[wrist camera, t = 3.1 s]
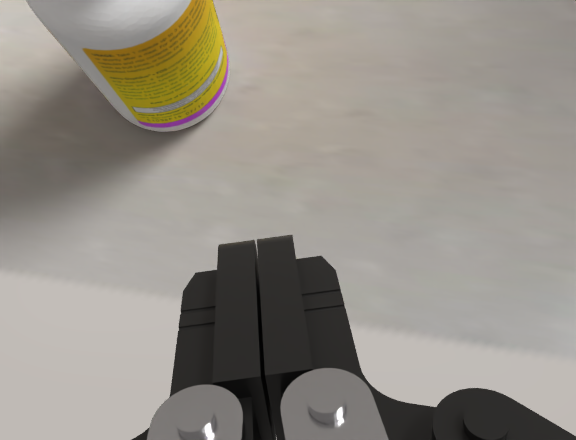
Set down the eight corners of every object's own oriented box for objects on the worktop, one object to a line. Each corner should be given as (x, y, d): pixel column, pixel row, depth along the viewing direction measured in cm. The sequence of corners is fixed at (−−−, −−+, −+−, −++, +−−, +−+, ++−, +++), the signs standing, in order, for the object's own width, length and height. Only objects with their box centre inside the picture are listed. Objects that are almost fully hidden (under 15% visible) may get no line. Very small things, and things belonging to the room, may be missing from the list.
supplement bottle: (256, 64, 29) (222, -139, 16) (179, 160, 28) (79, 22, 16) (160, -2, 30) (57, -241, 17) (82, 89, 29) (-87, -96, 16)
